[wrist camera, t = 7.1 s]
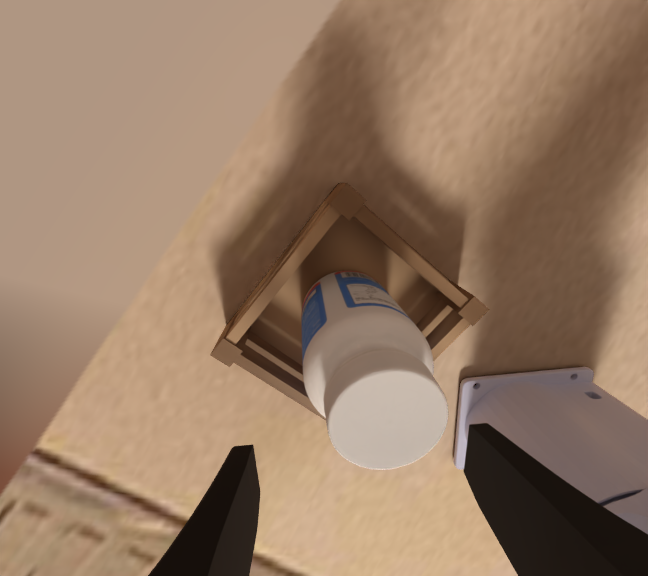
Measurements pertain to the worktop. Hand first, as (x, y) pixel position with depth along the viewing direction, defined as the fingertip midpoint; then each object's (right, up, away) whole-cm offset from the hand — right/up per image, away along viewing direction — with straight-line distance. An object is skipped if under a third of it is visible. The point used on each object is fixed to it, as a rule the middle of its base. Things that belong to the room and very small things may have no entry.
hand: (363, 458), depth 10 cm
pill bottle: (0, +4, +9) cm, 10 cm away
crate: (0, +4, +9) cm, 10 cm away
